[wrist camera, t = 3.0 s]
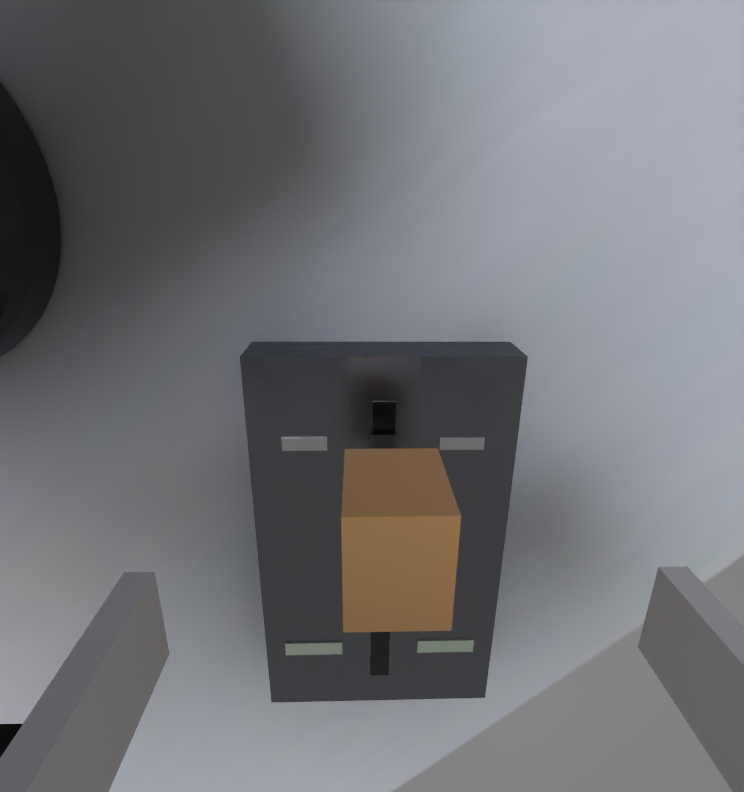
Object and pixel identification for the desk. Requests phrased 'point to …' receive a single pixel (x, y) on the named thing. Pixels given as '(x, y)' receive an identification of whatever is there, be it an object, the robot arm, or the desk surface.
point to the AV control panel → (322, 504)
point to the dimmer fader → (398, 539)
